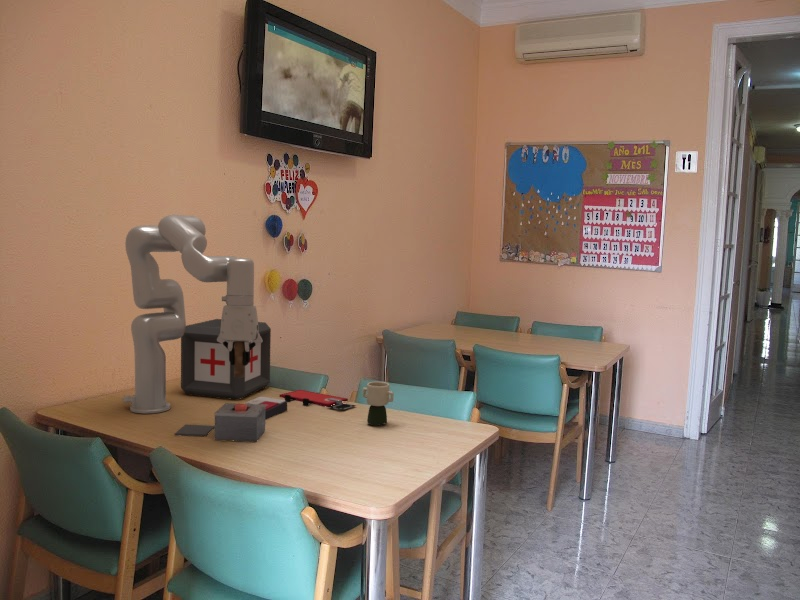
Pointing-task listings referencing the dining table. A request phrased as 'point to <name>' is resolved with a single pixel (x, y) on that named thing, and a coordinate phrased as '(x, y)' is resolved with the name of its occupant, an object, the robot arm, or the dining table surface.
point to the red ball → (240, 407)
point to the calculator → (270, 405)
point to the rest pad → (194, 430)
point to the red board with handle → (316, 399)
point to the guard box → (240, 422)
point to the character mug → (377, 401)
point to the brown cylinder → (239, 359)
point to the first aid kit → (221, 363)
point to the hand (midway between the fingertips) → (239, 363)
